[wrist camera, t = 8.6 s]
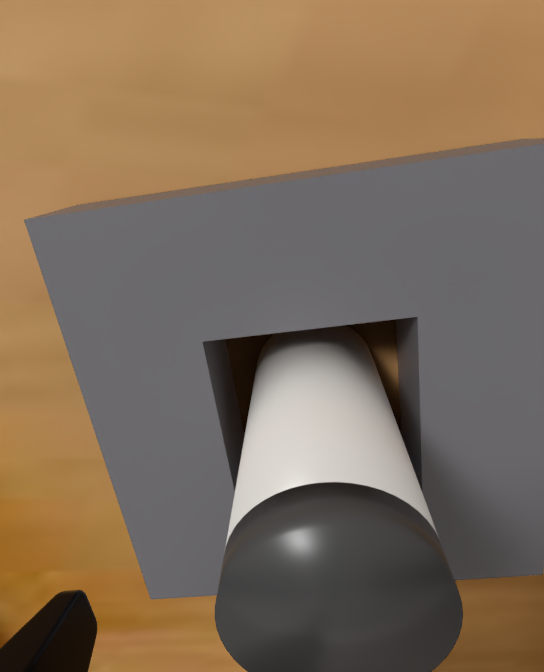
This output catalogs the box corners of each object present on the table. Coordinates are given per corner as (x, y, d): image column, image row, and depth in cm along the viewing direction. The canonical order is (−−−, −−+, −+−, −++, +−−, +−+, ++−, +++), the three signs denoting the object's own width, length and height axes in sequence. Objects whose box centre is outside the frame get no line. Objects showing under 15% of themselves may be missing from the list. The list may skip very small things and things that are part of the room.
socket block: (504, 507, 18) (542, 574, 15) (171, 532, 19) (150, 599, 16) (523, 139, 13) (586, 137, 10) (77, 205, 14) (23, 219, 11)
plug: (377, 417, 16) (462, 695, 8) (265, 428, 17) (237, 704, 9) (370, 311, 15) (463, 516, 7) (247, 325, 15) (192, 537, 7)
